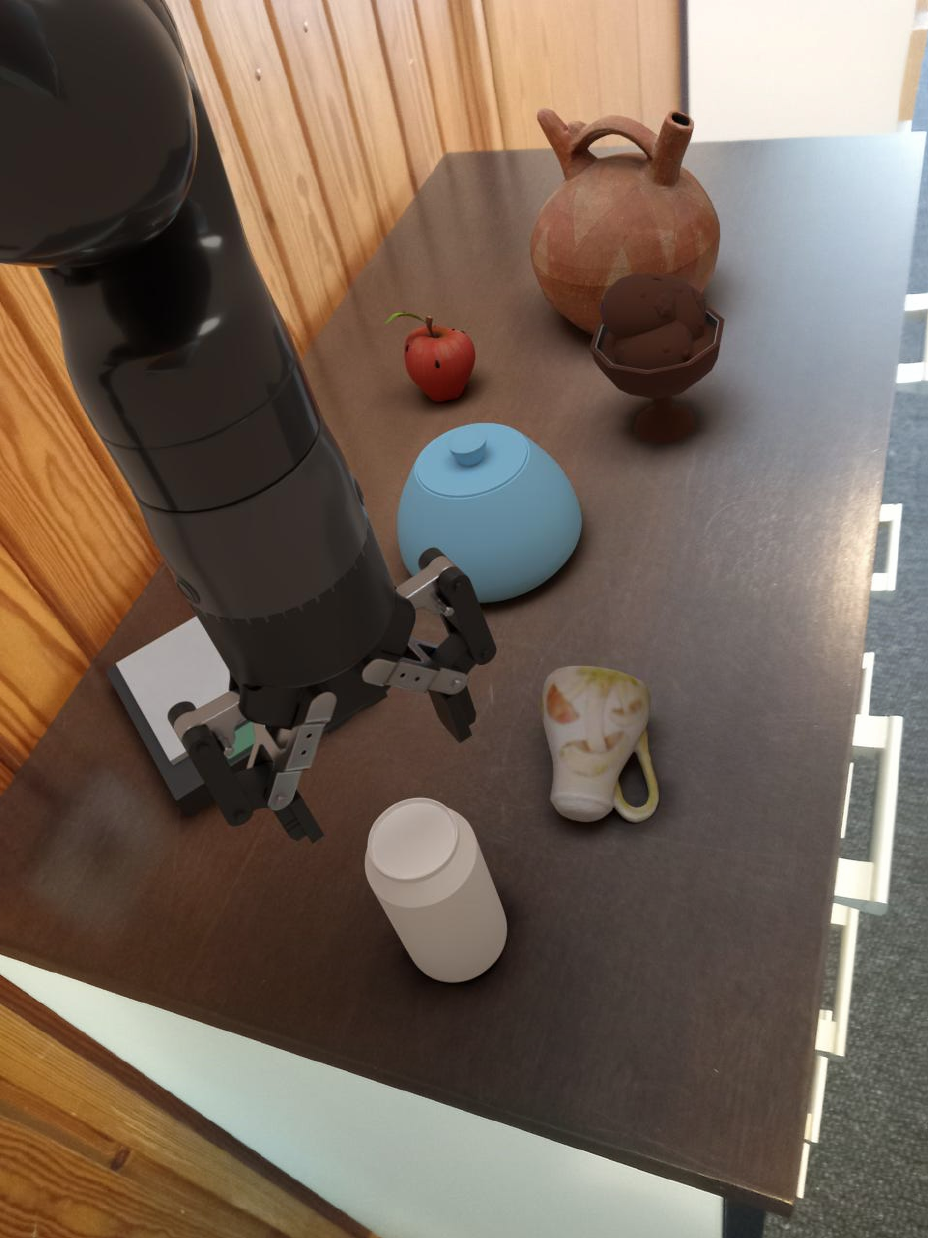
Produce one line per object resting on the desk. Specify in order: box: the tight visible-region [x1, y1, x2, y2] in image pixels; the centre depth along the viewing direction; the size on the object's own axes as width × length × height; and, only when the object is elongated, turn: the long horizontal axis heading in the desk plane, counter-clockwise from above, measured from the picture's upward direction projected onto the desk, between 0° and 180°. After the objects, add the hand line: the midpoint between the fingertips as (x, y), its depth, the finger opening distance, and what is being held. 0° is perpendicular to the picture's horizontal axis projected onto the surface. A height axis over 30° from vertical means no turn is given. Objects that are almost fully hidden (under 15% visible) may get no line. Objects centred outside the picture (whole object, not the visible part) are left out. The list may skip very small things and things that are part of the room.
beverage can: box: [364, 797, 508, 983], centre depth 58 cm, size 6×6×12 cm
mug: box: [540, 665, 660, 824], centre depth 67 cm, size 8×10×10 cm
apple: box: [381, 311, 476, 403], centre depth 99 cm, size 8×7×10 cm
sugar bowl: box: [396, 422, 583, 604], centre depth 81 cm, size 15×15×12 cm
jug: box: [529, 107, 721, 337], centre depth 98 cm, size 18×18×20 cm
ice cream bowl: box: [589, 273, 725, 445], centre depth 86 cm, size 11×11×15 cm
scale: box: [105, 615, 326, 819], centre depth 79 cm, size 15×16×3 cm
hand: (384, 778), depth 50 cm, fingers open, 8 cm apart
